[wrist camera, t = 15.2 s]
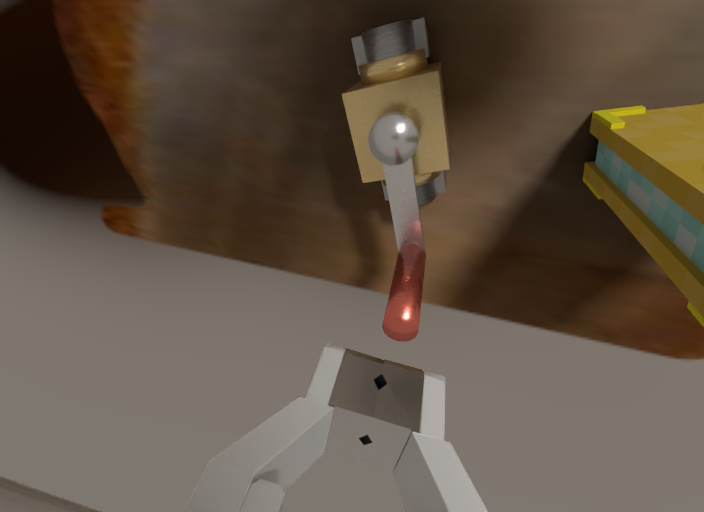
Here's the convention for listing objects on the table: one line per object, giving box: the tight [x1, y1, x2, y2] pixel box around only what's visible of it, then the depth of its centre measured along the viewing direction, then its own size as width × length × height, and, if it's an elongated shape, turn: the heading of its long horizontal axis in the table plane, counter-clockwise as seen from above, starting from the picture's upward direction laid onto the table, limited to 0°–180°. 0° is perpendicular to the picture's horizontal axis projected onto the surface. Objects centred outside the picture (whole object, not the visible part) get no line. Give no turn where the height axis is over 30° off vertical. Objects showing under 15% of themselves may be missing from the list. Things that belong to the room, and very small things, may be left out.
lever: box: [368, 112, 426, 341], centre depth 29 cm, size 14×4×11 cm, turn 13°
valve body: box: [342, 17, 450, 206], centre depth 34 cm, size 16×8×9 cm, turn 14°
